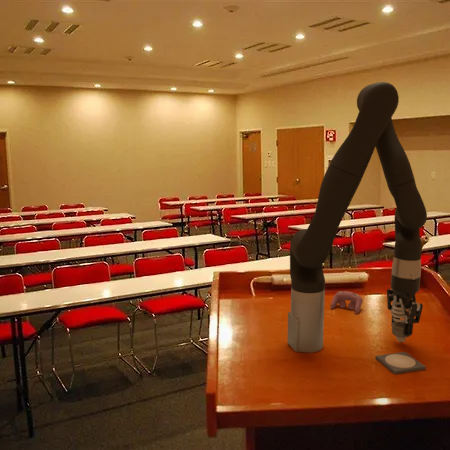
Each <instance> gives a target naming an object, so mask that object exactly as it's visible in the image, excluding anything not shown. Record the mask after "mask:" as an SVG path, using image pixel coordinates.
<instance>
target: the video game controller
mask: <svg viewBox="0 0 450 450" xmlns="http://www.w3.org/2000/svg"><path fill="white" fill-rule="evenodd" d="M347 301H349V303H348V305H347ZM362 304H363V298H362V296H360V295H359V294H358V293H355V292H352V291H347V290H343V291H337V292H336V293H335V294H334V295H333V297H332V300H331V303H330V309H331V310H334V309H335V308H336V306H337V305H338V306H339V307H340V308H341V309H344V308H346V307H347V306H348V309H349V310H352V311H353V310H354V313H355V314H356V315H357V314H359V312H360V310H361V309H362Z"/></svg>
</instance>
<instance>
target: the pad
mask: <svg viewBox="0 0 450 450" xmlns="http://www.w3.org/2000/svg"><path fill="white" fill-rule="evenodd" d="M375 360H377V361H378V362H379V363H380V364H381V365H382V366H384V367H385V368H386V369H387V370H389V372H391V373H392V374H394V375H399V374H406V373H412V372H418V371H425V370H426V367H427V366H426V365H424V364H423V363H421V362H420V361H419V360H418V359H416V358H415V357H413V356H412V355H410V354H409V353H408V352H407V351H400V352H395V353H387V354H386V353H385V354H380V355H379V354H378V355H375Z"/></svg>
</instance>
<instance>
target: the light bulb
mask: <svg viewBox="0 0 450 450" xmlns="http://www.w3.org/2000/svg"><path fill="white" fill-rule="evenodd" d="M397 305H400V303H399V302H397V303H396V306H393V310H392V312H393V314H391V317H392V316H393V320H394V321H395V322H393V323H392V322H391V334H392V335H394V336H395V339H396V341H398V342H399V343H403V342H405V341H406V339H407V338H409V337H410V336H405V335H404V323H405V319H404V315H403V314H402V308H399V307H397ZM406 311H407V312H409V311H411V309H406ZM394 317H395V318H394ZM396 318H400V319H396ZM409 318H410V314H408V319H409Z"/></svg>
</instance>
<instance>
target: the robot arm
mask: <svg viewBox="0 0 450 450" xmlns="http://www.w3.org/2000/svg"><path fill="white" fill-rule="evenodd" d="M356 97H357V99H356V107H357V110H358V114H357V116H356V119H355V122H354V125H353V126H352V129H351V130H350V132H349V134H348V135H347V137H346V138H345V140H344V141H343V143H342V144H340V146H339V148H338V149H337V150H336V152H335V154H334V155H333V157H332V159H331V160H330V163H329V165H328V167H327V169H326V172H325V174H324V176H323V178H322V181H321V184H320V187H319V191H318V196H317V197H318V198H317V203H316V207H315V212H314V214H313V217H312V219H311V221H310V223H309V225H308V226H307V228H303V229H300V230H298V231H296V232H295V234H294V235H293V236H292V238H291V241H290V245H289V246H290V247H289V276H290V284H291V285H290V287H291V288H290V289H291V291H290V311H288V312H287V344H288V345H289V346H290V347H291V349H292V350H293V351H294V352H296V353H297V352H301V353H316V352H319V351H321V350H322V349H323V348H324V347H323V346H324V329H325V328H324V326H325V325H324V323H325V299H326V297H325V295H326V279H325V276H324V275H325V274H324V268H323V267H324V266H323V265H324V263H325V262H326V261H327V259H328V257H329V256H330V253H331V250H332V247H333V243H334V240H335V239H336V236H337V232H338V230H339V227H340V224H341V222H342V220H343V218H344V216H345V214H346V213H347V210H348V209H349V206H350V205H351V202H352V200H353V198H354V196H355V194H356V192H357V190H358V189H359V186H360V184H361V181H362V179H363V177H364V174H365V173H366V170H367V168H368V166H369V163H370V161H371V159H372V156H373V154H374V151H375V149H376V153H377V155H378V159H379V161H380V164H381V169H382V171H383V175H384V178H385V179H384V180H385V181H386V184H387V188H388V190H389V193H390V195H391V196H392V198H393V200H394V204H395V206H396V208H395V211H394V234H395V240H394V241H395V243H394V248H393V249H394V252H393V259H392V264H391V265H392V266H391V277H390V278H391V279H390V288H389V289H388V288H387V289H386V302H387V311H390V314H391V324H392V323H393V322H395V321H394V320H393V316H392V314H393V312H392V310H393V306H396V303H397V302H399V303H400V305H397V307H399V308H402V314H403V315H404V318H403V319H405V323H404V335H405V336H409V337H410V336H412V334H413V329H414V324H419V323H420V320H421V316H422V310H423V307H424V305H423V303H419V302H417V298H416V294H417V293H418V292H419V291H420V282H421V274H422V273H421V272H422V249H423V242H422V238H421V236H420V230H421V229H422V228H423V227H424V226H425V224H426V223H427V219H428V214H427V208H426V205H425V203H424V200H423V199H422V196H421V194H420V191H419V190H418V187H417V184H416V179H415V176H414V175H415V174H414V173H413V168H412V165H411V163H410V160H409V157H408V155H407V154H406V151H405V149H404V147H403V146H402V145H403V144H401V142H400V139H399V137H398V135H397V132H396V130H395V127H394V122H393V118H392V117H393V116H394V114H395V112H396V111H397V108H398V105H399V101H400V99H399V93H398V90H397V88H396V87H395V86H394V85H393V84H392V83H390V82H386V81H381V82H380V81H379V82H378V81H377V82H374V83H371V84H368V85H365V87H363V88H361V90H360V91H359V93H358V95H357V96H356ZM406 309H411V311H409V312H407V311H408V310H406ZM408 314H410V318H409V319H408ZM394 318H395V317H394ZM396 319H401V318H396Z"/></svg>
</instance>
